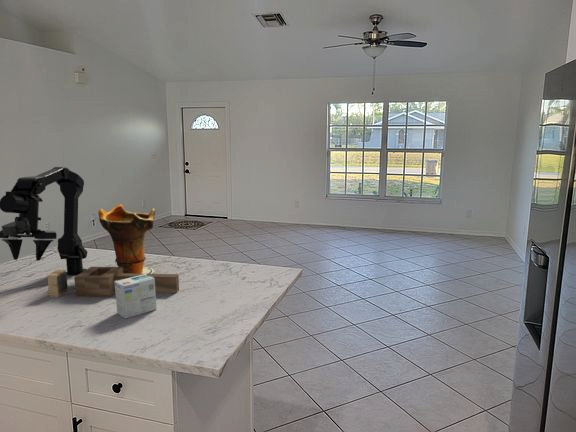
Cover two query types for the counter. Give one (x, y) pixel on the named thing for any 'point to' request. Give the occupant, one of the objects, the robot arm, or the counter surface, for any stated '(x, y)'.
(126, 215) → the decorative vase
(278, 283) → the counter surface
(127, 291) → the light bulb box
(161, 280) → the wooden block stand
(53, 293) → the tan cardboard block
